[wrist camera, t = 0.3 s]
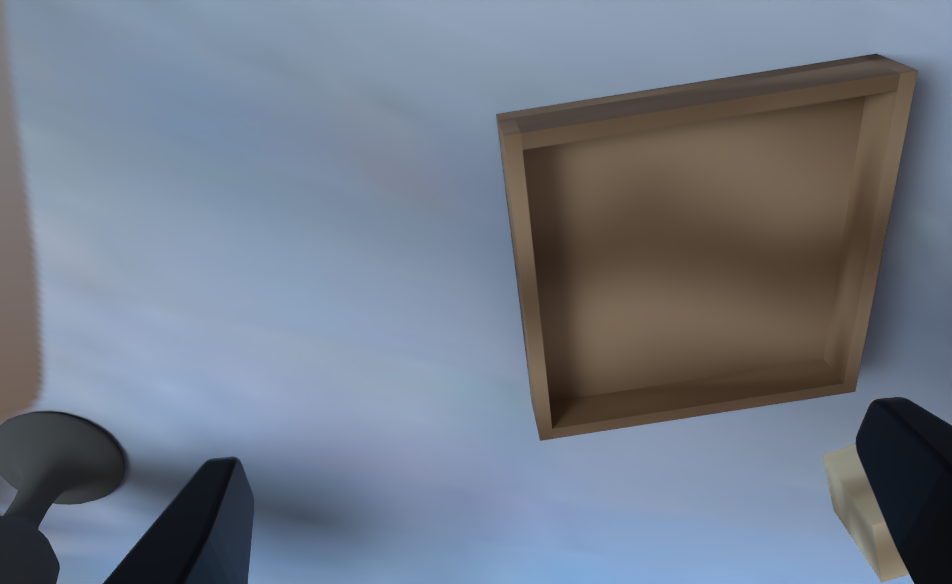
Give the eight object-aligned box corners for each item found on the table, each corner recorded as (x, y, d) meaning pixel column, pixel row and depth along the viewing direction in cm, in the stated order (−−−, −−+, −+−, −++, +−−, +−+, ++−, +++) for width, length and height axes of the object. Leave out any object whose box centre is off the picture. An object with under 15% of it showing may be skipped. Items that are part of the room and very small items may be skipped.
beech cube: (918, 481, 32) (977, 552, 29) (833, 509, 33) (881, 582, 30) (911, 423, 30) (974, 492, 27) (821, 453, 31) (872, 525, 28)
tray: (826, 358, 28) (855, 391, 26) (532, 404, 28) (540, 440, 26) (876, 53, 22) (917, 70, 20) (496, 114, 22) (503, 136, 20)
